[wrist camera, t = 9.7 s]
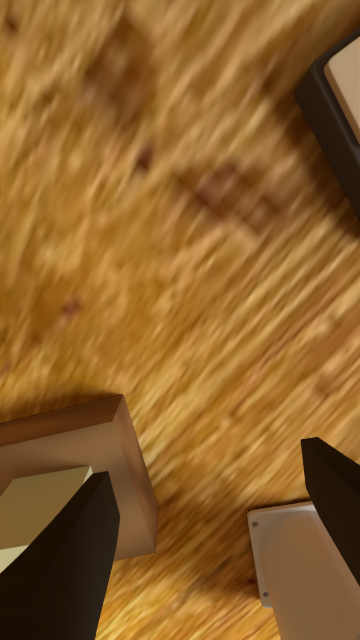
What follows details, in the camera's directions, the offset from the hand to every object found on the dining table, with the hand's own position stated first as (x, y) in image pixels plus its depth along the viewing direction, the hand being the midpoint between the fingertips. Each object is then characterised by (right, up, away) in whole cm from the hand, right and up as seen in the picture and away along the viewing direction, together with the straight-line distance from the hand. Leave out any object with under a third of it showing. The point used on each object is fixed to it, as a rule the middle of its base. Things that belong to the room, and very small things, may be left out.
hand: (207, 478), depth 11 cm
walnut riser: (-9, -5, +12) cm, 16 cm away
